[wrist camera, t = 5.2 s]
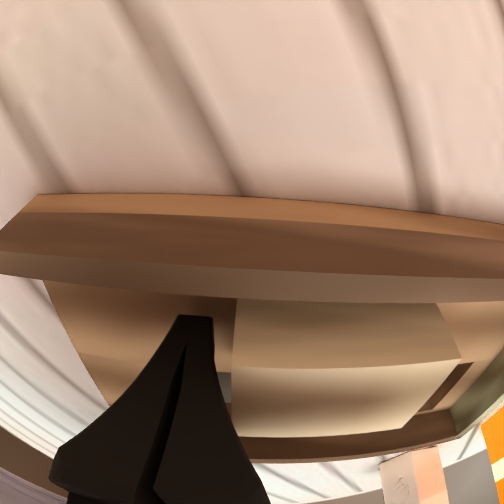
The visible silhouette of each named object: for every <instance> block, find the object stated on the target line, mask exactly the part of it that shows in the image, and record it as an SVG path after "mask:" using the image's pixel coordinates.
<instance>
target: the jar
mask: <svg viewBox="0 0 504 504" xmlns="http://www.w3.org/2000/svg"><path fill="white" fill-rule="evenodd" d="M379 468H380V477H381V484H382V492H383V500H384V504H449V500H448V494H447V489H446V483H445V478H444V473H443V469H442V464H441V460H440V455H439V451H438V447H436V446H435V447H430V448H425V449H420V450H414V451H409V452H407V453H405V454H402V455H400V456H398V457H395V458H393V459H390V460H388V461H385V462H383V463H380V465H379Z"/></svg>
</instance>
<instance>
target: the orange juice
mask: <svg viewBox="0 0 504 504" xmlns="http://www.w3.org/2000/svg"><path fill="white" fill-rule="evenodd" d="M481 429H482V432H483V436H484V439H485V442H486V446H487V449H488V453H489V456H490V460H491V464H492V465H491V466H492V470H493V474H494V478H495V482H496V484H497V489H498V494H499V499H500V504H504V407H503V408H502V409H500V410H499V411H498V412H497V413H496V414H495V415H494V416H492V417H491V418H490V419H489V420H488V421H486V422H485V423H484V424H483V425H482V426H481Z"/></svg>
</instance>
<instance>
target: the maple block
mask: <svg viewBox="0 0 504 504" xmlns="http://www.w3.org/2000/svg"><path fill="white" fill-rule="evenodd" d="M461 359H462V357H461V355H460V352H459V350H458V348H457V345H456V343H455V341H454V339H453V337H452V335H451V332H450V330H449V328H448V326H447V324H446V322H445V320H444V318H443V316H442V314H441V312H440V310H439V308H438V306H437V304H436V303H346V302H309V301H283V300H262V299H243V298H237V305H236V316H235V328H234V340H233V351H232V363H231V404H232V423H233V425H234V428H235V430H236V432H237V435H238V436H246V437H318V436H335V435H348V434H359V433H368V432H377V431H384V430H391V429H398V428H402V427H403V426H404V425H405V424H406V423H407V422H408V421H409V420H410V419H411V418H412V417H413V416H414V414H415V413H416V412H417V411H418V410H419V409H420V408H421V407H422V406H423V405H424V404H425V403H426V401H427V400H428V399H429V398H430V397H431V396H432V395H433V394H434V392H435V391H436V390H437V389H438V388H439V387H440V385H441V384H442V383H443V382H444V381H445V379H446V378H447V377H448V376H449V374H450V373H451V372H452V371H453V369H454V368H455V367H456V366H457V364H458V363H459V362H460V360H461Z"/></svg>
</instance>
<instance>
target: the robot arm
mask: <svg viewBox="0 0 504 504" xmlns="http://www.w3.org/2000/svg"><path fill="white" fill-rule="evenodd" d="M214 356H215V342H214V325H213V318H211V317H210V316H197V315H184V314H179V315H178V316H177V317H176V319H175V321H174V323H173V324H172V326H171V328H170V330H169V331H168V333H167V335H166V336H165V338H164V340H163V341H162V343H161V344H160V346H159V347H158V349H157V350H156V352H155V353H154V355H153V356H152V358H151V359H150V360H149V362H148V363H147V364H146V366H145V367H144V368H143V370H142V371H141V372H140V374H139V375H138V376H137V378H136V379H135V380H134V381H133V382H132V384H131V385H130V386H129V387H128V388H127V389H126V391H125V392H124V393H123V394H122V395H121V396H120V397H119V398H118V399H117V400H116V401H115V402H114V403H113V404H112V405H111V406H110V407H109V408H108V409H107V410H106V411H105V412H104V413H103V414H102V415H101V416H100V417H98V418H97V419H96V420H95V421H94V422H92V423H91V424H90V425H89V426H88V427H87V428H85V429H84V430H83V431H82V432H80V433H79V434H78V435H76V436H75V437H73V438H72V439H70V440H69V441H68V442H66V443H65V444H63V445H62V446H60V447H59V448H58V451H57V453H56V455H55V457H54V460H53V463H52V467H51V470H50V474H49V480H50V481H51V482H52V483H54V484H56V485H57V486H59V487H61V488H63V489H65V490H67V491H69V494H68V499H67V498H65V497H62V496H60V495H57V494H55V493H52V492H50V491H48V490H45V489H43V488H41V487H38V486H36V485H34V484H32V483H30V482H28V481H26V480H24V479H22V478H20V477H17V476H16V475H14V474H12V473H10V472H8V471H6V470H4V469H3V468H1V467H0V504H271V503H270V500H269V498H268V496H267V493H266V491H265V488H264V486H263V484H262V481H261V479H260V478H259V476H258V474H257V473H256V471H255V469H254V467H253V465H252V464H251V462H250V460H249V458H248V456H247V454H246V452H245V450H244V448H243V446H242V444H241V441H240V439H239V437H238V435H237V432H236V430H235V428H234V425H233V423H232V420H231V418H230V415H229V412H228V409H227V407H226V404H225V401H224V397H223V394H222V391H221V387H220V383H219V379H218V375H217V371H216V366H215V360H214Z"/></svg>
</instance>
